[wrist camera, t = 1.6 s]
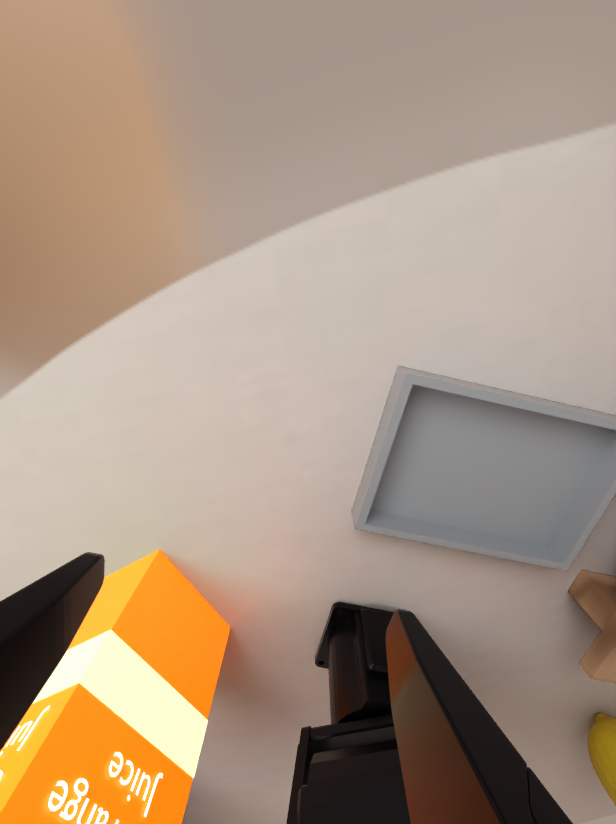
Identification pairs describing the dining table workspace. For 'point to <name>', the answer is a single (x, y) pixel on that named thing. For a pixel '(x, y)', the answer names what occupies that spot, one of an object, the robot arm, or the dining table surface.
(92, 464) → the dining table surface
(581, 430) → the grey open tray
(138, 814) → the orange juice
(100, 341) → the dining table surface
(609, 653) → the bridge
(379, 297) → the dining table surface
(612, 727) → the lemon
